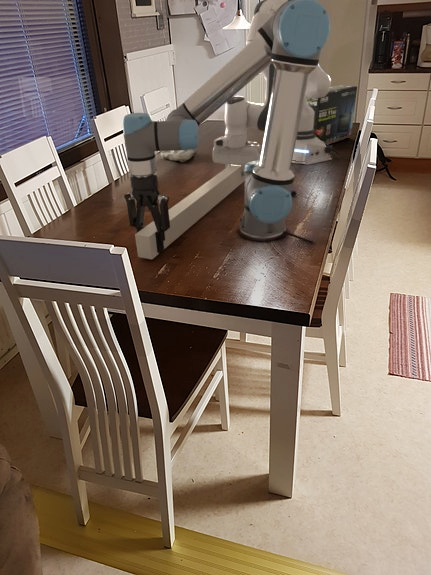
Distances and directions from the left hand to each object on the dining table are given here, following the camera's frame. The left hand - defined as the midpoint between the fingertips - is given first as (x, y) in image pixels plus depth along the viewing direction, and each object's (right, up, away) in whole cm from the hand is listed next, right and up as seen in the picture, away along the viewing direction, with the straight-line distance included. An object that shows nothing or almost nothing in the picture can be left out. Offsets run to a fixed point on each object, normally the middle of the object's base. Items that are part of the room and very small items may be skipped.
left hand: (152, 249), depth 138 cm
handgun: (+45, +29, +48) cm, 72 cm away
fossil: (0, +53, +92) cm, 106 cm away
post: (+14, +16, +27) cm, 34 cm away
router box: (+77, +66, +107) cm, 147 cm away
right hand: (+28, +35, +52) cm, 69 cm away
